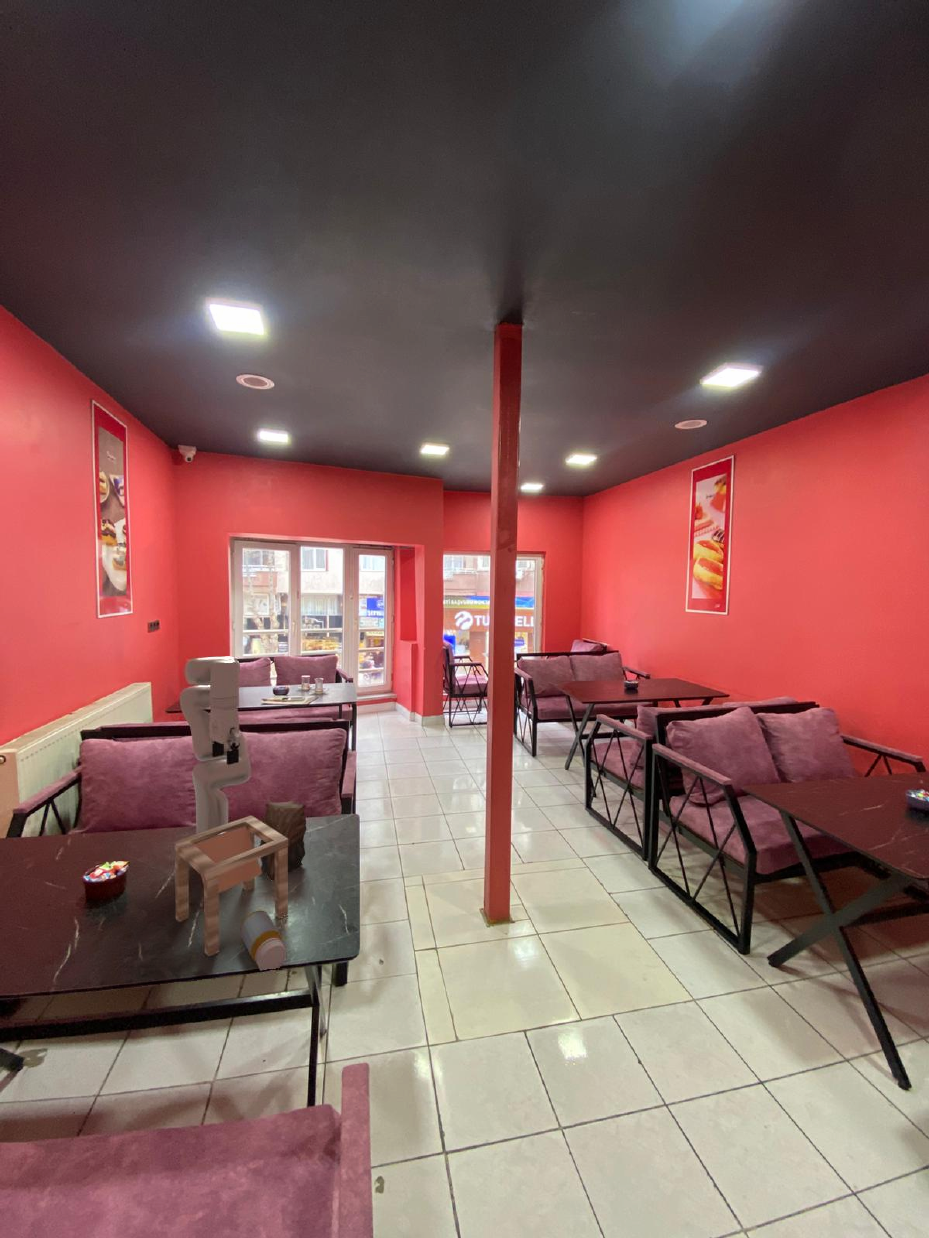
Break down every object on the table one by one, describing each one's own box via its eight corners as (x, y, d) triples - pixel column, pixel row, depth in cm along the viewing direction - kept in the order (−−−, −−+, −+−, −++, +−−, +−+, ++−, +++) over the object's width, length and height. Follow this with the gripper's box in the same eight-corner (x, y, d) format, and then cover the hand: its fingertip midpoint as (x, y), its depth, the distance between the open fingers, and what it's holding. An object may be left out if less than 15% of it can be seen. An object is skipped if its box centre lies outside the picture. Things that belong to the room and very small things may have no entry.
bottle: (273, 921, 124) (293, 955, 113) (248, 943, 120) (266, 981, 109) (260, 903, 122) (279, 936, 110) (234, 925, 118) (251, 962, 106)
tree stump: (257, 863, 155) (257, 802, 154) (296, 850, 163) (296, 793, 162) (269, 881, 145) (269, 817, 144) (310, 867, 153) (310, 806, 152)
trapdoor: (191, 844, 128) (192, 842, 127) (244, 825, 138) (245, 824, 138) (207, 898, 122) (208, 896, 121) (260, 874, 133) (262, 872, 132)
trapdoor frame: (174, 918, 128) (173, 842, 127) (251, 883, 144) (251, 815, 143) (207, 957, 114) (206, 872, 113) (288, 914, 130) (288, 838, 129)
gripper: (199, 699, 143) (199, 756, 143) (224, 709, 132) (225, 770, 132) (224, 696, 148) (225, 750, 149) (251, 704, 137) (251, 763, 138)
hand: (225, 759), depth 141 cm, fingers open, 9 cm apart
